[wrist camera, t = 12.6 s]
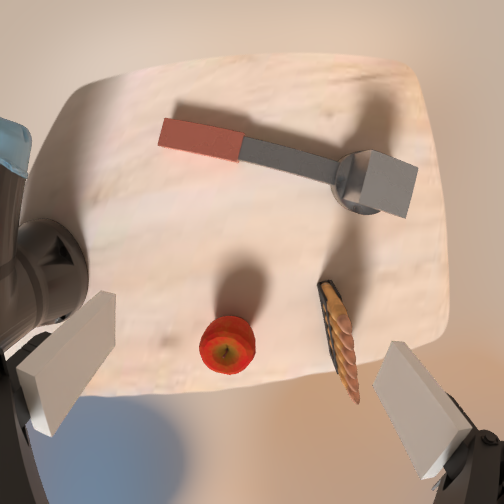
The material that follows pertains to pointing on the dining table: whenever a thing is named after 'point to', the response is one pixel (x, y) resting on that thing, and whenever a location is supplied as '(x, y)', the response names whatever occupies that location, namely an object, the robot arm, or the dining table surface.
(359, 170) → the brushed steel cube
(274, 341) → the dining table surface
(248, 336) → the apple
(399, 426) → the robot arm
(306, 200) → the dining table surface
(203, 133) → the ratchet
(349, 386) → the ammunition clip
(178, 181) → the dining table surface
